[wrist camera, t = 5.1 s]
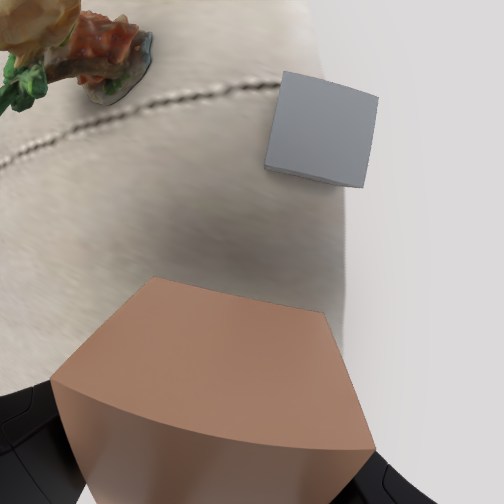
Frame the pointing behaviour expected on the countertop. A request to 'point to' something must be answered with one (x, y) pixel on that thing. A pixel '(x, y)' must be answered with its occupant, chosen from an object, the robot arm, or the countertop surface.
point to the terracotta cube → (211, 403)
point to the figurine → (67, 51)
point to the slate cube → (321, 131)
